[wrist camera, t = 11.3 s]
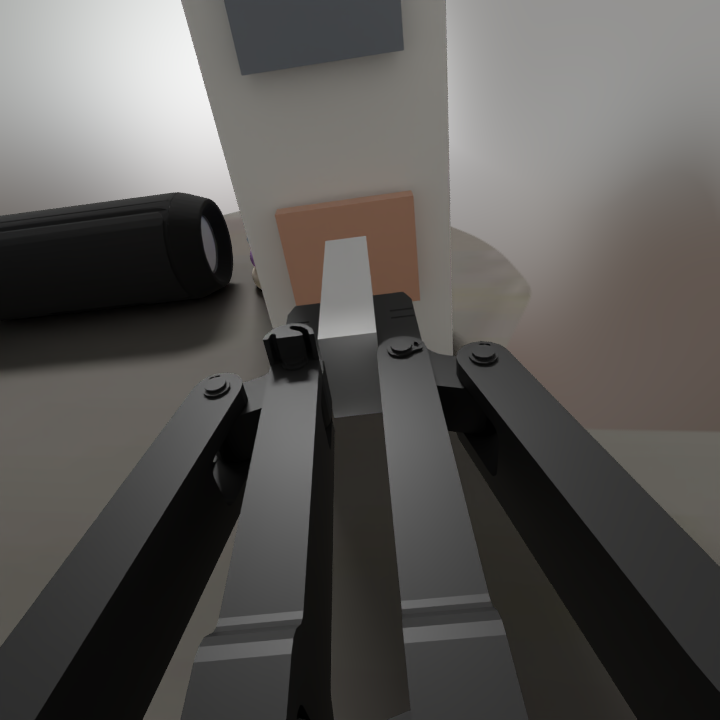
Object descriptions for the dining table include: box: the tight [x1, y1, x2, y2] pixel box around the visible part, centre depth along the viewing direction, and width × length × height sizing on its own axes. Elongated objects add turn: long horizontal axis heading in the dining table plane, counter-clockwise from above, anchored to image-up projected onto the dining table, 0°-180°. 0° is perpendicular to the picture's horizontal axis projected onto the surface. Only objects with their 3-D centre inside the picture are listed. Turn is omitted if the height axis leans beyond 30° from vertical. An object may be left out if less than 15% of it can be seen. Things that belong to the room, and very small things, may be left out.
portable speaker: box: [0, 192, 233, 320], centre depth 46 cm, size 26×10×10 cm, turn 89°
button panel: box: [181, 0, 453, 356], centre depth 28 cm, size 12×6×30 cm, turn 92°
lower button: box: [275, 190, 420, 306], centre depth 30 cm, size 8×7×6 cm
